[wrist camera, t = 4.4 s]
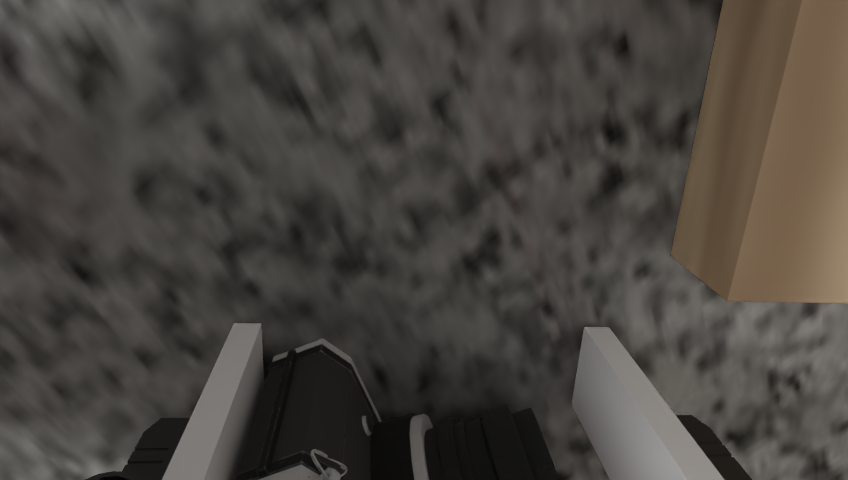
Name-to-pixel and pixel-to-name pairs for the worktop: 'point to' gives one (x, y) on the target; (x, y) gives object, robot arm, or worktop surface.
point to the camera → (376, 432)
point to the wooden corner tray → (771, 156)
